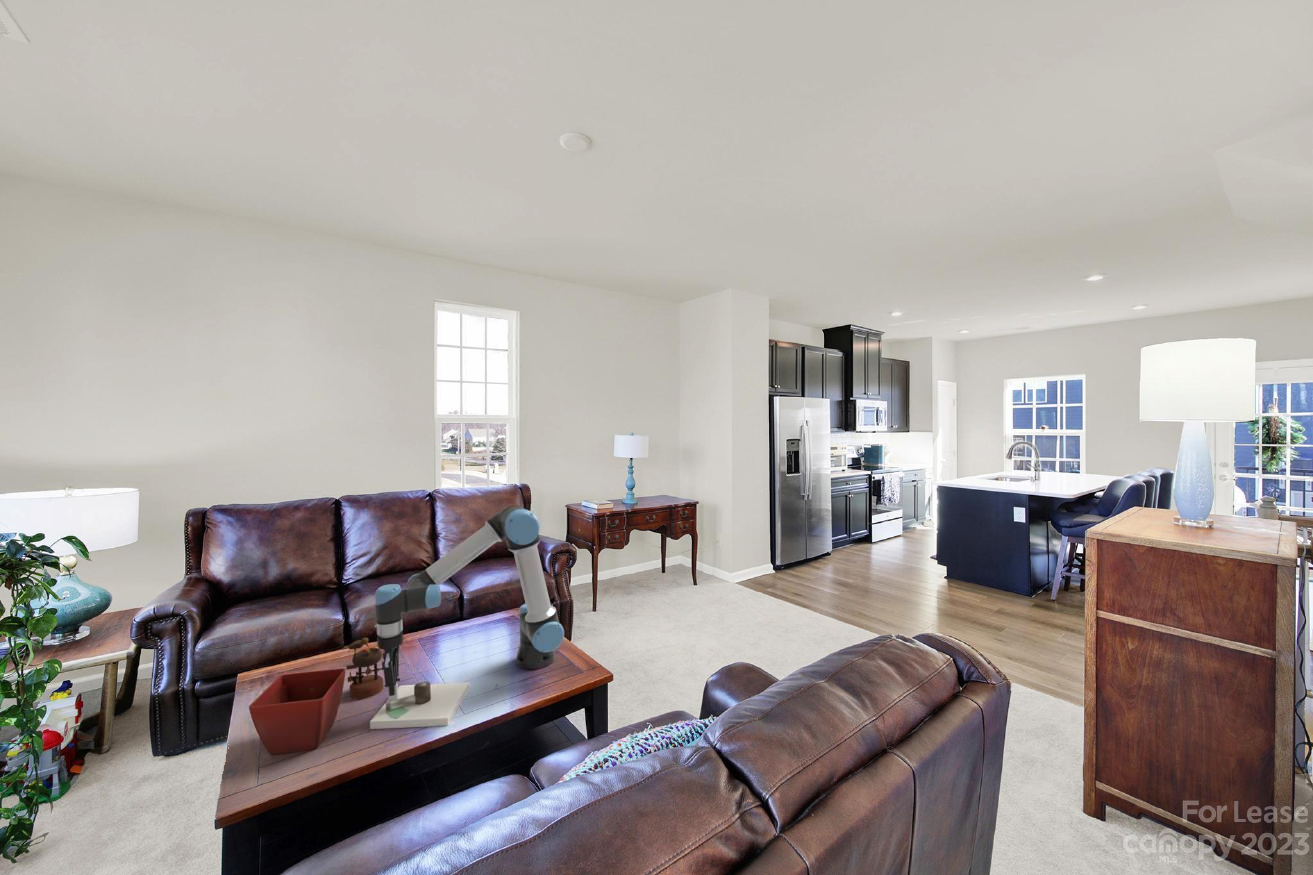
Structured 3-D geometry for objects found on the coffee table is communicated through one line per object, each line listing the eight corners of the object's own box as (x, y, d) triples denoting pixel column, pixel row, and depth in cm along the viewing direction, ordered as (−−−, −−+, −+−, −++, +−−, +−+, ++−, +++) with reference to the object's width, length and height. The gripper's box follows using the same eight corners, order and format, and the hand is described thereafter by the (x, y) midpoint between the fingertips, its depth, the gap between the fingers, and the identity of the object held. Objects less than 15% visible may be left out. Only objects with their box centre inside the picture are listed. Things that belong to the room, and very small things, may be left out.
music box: (346, 704, 177) (343, 645, 178) (343, 693, 186) (340, 637, 187) (395, 690, 186) (392, 634, 187) (390, 680, 195) (387, 626, 196)
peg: (429, 694, 178) (428, 678, 178) (432, 700, 174) (431, 685, 174) (385, 707, 170) (384, 691, 170) (387, 714, 166) (386, 698, 166)
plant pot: (324, 755, 151) (322, 698, 150) (249, 765, 147) (246, 707, 146) (349, 717, 170) (346, 667, 169) (283, 726, 166) (280, 674, 165)
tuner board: (469, 688, 186) (469, 681, 186) (447, 725, 164) (447, 717, 164) (400, 691, 185) (400, 684, 185) (370, 729, 163) (369, 720, 163)
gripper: (382, 626, 175) (385, 694, 176) (371, 643, 163) (375, 716, 164) (406, 623, 177) (409, 690, 178) (398, 639, 164) (401, 712, 166)
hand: (393, 702), depth 171 cm, fingers closed
